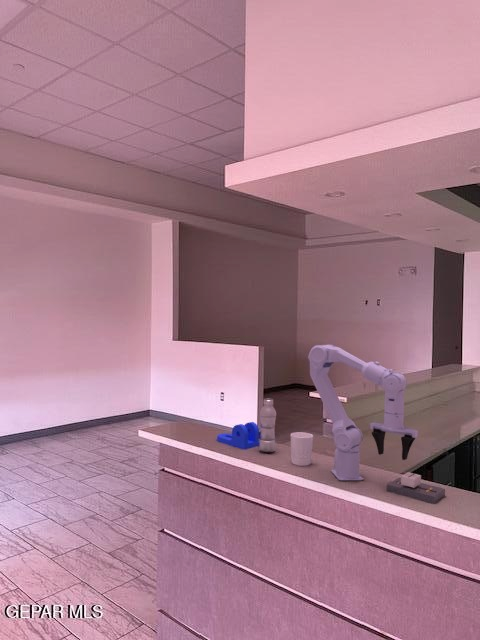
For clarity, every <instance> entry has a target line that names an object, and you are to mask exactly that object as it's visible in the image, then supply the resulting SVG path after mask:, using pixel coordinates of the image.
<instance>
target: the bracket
mask: <svg viewBox="0 0 480 640" xmlns="http://www.w3.org/2000/svg"><path fill="white" fill-rule="evenodd" d="M259 440H260V428H259V426H258V424H257V423H256V422H254V421H251V422H250V421H249V422H246V423H245V424H243V423H241V424H235V425H234V426H233V428H232V430H231V433H225V432H224V433H219V434H217V435H216V441H217V442H218V443H221V444H225V445H227V446H231V447H234V448H237V449H240V450H247V449H252V448H257V447H259Z"/></svg>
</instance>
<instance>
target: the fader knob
mask: <svg viewBox="0 0 480 640" xmlns="http://www.w3.org/2000/svg"><path fill="white" fill-rule="evenodd" d="M400 478H401V484H402V485H406V486H409V487H413V488H415V487H416V486H418V485H419V484H421V483H422V475H421V474H417V473H413V472H409V471H408V472H406V473H404V474H402V475H401V477H400Z"/></svg>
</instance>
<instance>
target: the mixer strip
mask: <svg viewBox="0 0 480 640" xmlns="http://www.w3.org/2000/svg"><path fill="white" fill-rule="evenodd" d="M386 491H387V492H389V493H393V494H396V495H401V496H403V497H408V498H411V499H415V500H419V501H422V502H426V503H429V504H436V503H437V502H439V501H440V500H441V499H442V498H443V497H445V496H446V488H443V487H439V486H434V485H432V484H427V483H422V482H421V484H419V485H418V486H416V487H415V488H413V487H409V486H406V485H402V484H401V477H398V478H395V479H394V480H392V481H390V482H389V483H386Z"/></svg>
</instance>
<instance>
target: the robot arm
mask: <svg viewBox="0 0 480 640" xmlns="http://www.w3.org/2000/svg"><path fill="white" fill-rule="evenodd" d="M307 359H308V361H309V376H310V379H311V381H312V382H313V385H314V387H315V389H316V391H317V393H318V396H319V397H320V399H321V401H322V403H323V404H322V405H323V406H324V409H325V410H326V412H327V415H328V416H329V418H330V420H331V424H332V430H331V432H332V434H333V442H334V445H335V446H336V449H335V450H334V454H333V455H334V456H333V458H334V459H333V462H334V463H333V469H331V471H330V472H331V473H332V474H333V475H334V476H335V477H336V478H337V480H338V481H364V478H363V477H362V476H361V475H360V455H361V454H360V453H361V452H360V450H361V449H360V444H362V442H363V440H364V438H363V437H364V435H363V432H362V430H361V429H359V428H358V426H357V425H356V424H355V422H354V421H353V420H352V419H350V418H349V416H348V415H347V413H346V410H345V408H344V407H343V404H342V402H341V400H340V398H339V396H338V394H337V392H336V390H335V388H334V386H333V383H332V382H331V379H330V377H329V376H328V375H329V371H330V369H331V367H332V366H333V364H334V363H341V364H344V365H346V366H348V367H349V368H352V369H354V370H357V371H359V372H361V374H362V376H363V378H365V379H366V380H368V381H370V382H372V383H373V384H376V385H378V386H380V387H382V389H383V390H384V407H383V408H384V411H383V423H381V422H380V423H379V422H370V424H369V425H370V426H369V427H370V428H369V429H370V430H372V431H371V436H372V437H373V440H374V442H375V444H376V448H377V452H378V453H377V454H378V455H379V456H381V455H383V454H384V452H385V450H384V449H385V448H384V447H385V438H386V437H385V436H386V433H390V434H397V435H401V438H400V439H401V447H402V449H401V459H402V461H406V460H407V459H408V457H409V456H408V455H409V451H410V449H411V447H412V445H413V443H414V442H415V440H416V438H418V437H419V431H418V430H417V429H412V428H409V427H405V426H404V418H405V417H404V415H405V389H406V387H407V386H408V380H407V378H406V376H405V375H403V374H402V373H401V372H398V371H397V372H394V370H393V369H392V368H390V369H389V368H386V367H384V366H383V365H380V364H381V363H380V362H379V361H369V362H365V361H364V360H363V359H360V358H359V357H357V356H355V355H353V354H351V353H349V352H347V350H344V349H343V348H341V347H339V346H335V345H333V344H331V343H330V344H329V343H327V344H321V345H320V344H318V345H317V344H316V345H314V346H313V347H312V348H311V349H310V351H309V353H308V356H307Z"/></svg>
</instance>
